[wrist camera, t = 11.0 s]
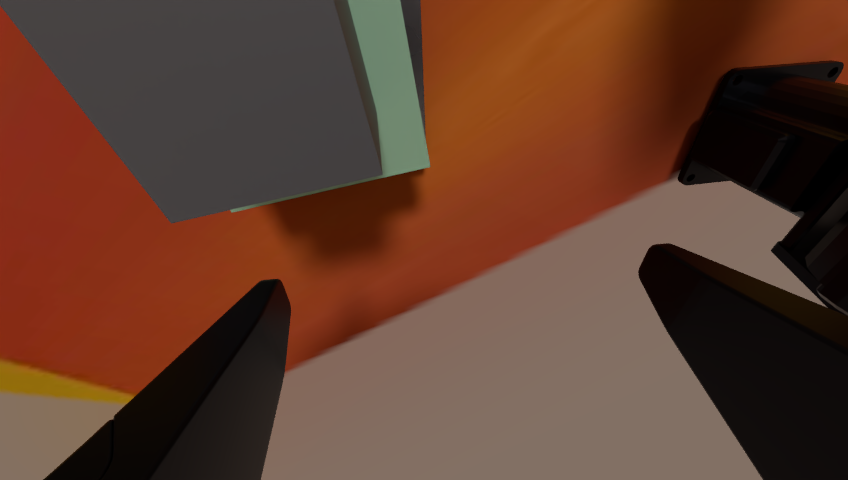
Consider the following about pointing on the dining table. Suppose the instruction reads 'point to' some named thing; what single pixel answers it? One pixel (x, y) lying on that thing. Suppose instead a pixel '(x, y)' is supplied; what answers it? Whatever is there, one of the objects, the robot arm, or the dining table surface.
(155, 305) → the dining table surface
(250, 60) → the grey and green block
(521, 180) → the dining table surface
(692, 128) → the dining table surface
